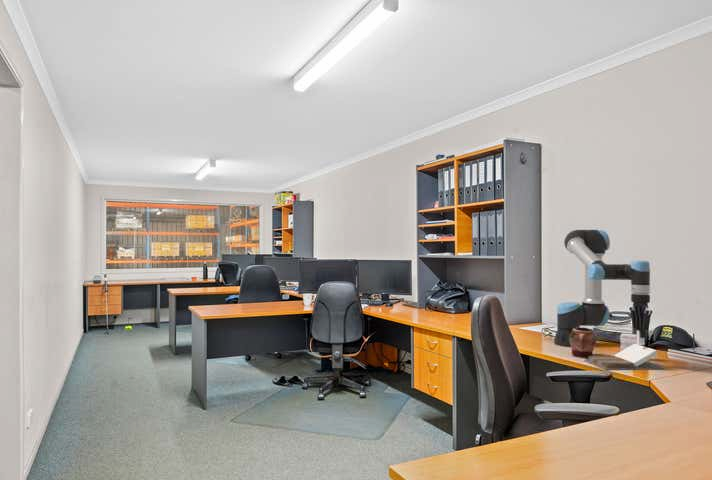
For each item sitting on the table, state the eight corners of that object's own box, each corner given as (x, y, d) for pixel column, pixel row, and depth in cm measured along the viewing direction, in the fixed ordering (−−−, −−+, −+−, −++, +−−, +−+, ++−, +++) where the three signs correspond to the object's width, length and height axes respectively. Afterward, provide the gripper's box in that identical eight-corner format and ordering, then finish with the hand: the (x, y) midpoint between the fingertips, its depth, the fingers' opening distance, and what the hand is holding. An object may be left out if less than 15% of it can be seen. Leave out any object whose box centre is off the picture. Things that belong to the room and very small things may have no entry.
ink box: (641, 358, 234) (641, 334, 234) (640, 360, 230) (640, 336, 230) (621, 356, 239) (621, 332, 239) (620, 358, 235) (620, 334, 235)
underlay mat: (583, 360, 228) (583, 359, 228) (638, 360, 230) (638, 359, 230) (605, 370, 211) (605, 368, 211) (663, 369, 213) (663, 367, 213)
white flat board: (615, 359, 228) (613, 355, 228) (636, 347, 229) (634, 343, 229) (636, 366, 213) (634, 363, 213) (658, 354, 214) (656, 350, 214)
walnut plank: (588, 360, 227) (588, 356, 227) (612, 359, 228) (612, 355, 228) (607, 368, 212) (607, 363, 212) (633, 367, 213) (633, 363, 213)
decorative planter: (597, 362, 226) (597, 332, 226) (569, 359, 231) (569, 330, 231) (595, 353, 244) (595, 326, 244) (569, 351, 249) (569, 325, 249)
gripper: (623, 292, 228) (624, 341, 228) (642, 295, 215) (642, 347, 215) (638, 292, 229) (639, 341, 228) (657, 295, 216) (658, 347, 215)
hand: (640, 344), depth 222 cm, fingers closed
